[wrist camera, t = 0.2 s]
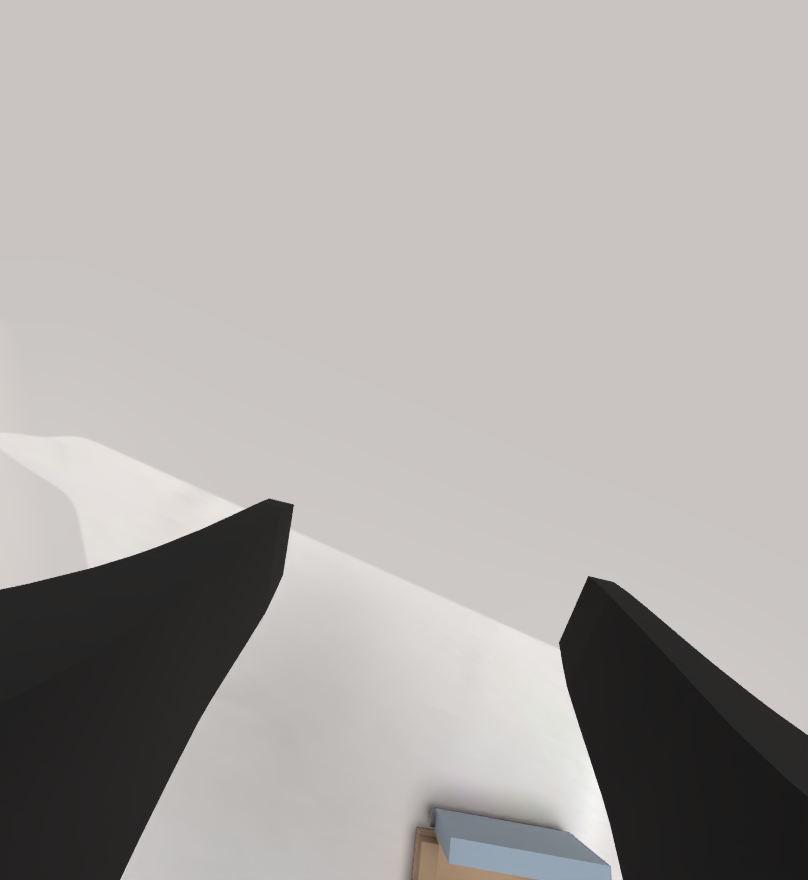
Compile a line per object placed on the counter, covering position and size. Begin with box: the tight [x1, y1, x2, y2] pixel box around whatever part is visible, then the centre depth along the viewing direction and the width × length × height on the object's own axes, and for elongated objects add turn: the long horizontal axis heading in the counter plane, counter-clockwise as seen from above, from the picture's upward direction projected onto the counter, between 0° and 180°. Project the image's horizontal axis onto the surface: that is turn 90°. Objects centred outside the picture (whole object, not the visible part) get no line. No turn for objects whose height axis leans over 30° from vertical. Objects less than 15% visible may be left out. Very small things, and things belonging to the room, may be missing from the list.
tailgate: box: [430, 808, 612, 880], centre depth 28 cm, size 1×11×6 cm, turn 80°
